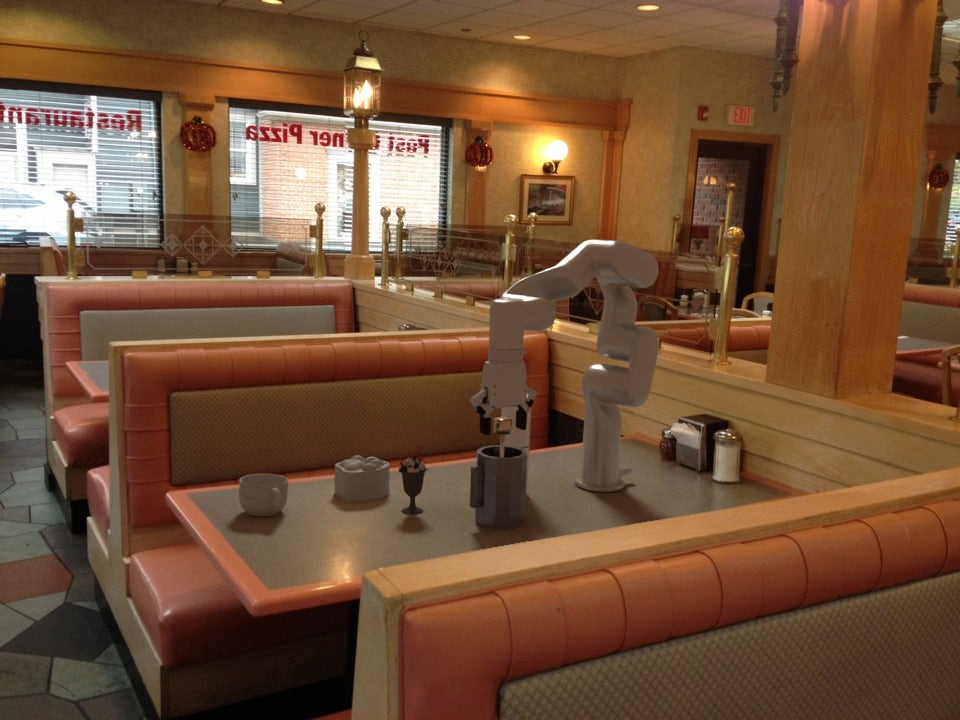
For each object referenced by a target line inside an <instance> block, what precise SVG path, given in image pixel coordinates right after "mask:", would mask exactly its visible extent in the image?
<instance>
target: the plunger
mask: <svg viewBox="0 0 960 720" xmlns="http://www.w3.org/2000/svg"><path fill="white" fill-rule="evenodd" d="M493 433H494V434H496V435H499V442H500V443H499V445H500V457H502V458H504V445H505V435H507V434H511V433H512V419H511V418H507V417H501V416H499V417H495V418H493Z"/></svg>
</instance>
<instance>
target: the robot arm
mask: <svg viewBox="0 0 960 720" xmlns="http://www.w3.org/2000/svg"><path fill="white" fill-rule="evenodd" d="M658 277H659V264H658V261H657V259H656V258H655V256H654V255H653V254H651V253H649V252H647V251H646V250H644V249H641V248H639V247H637V246H634V245H632V244H630V243H628V242H625V241H622V240H612V239H611V240H609V239H596V238H595V239H588V240H585V241H582V242H581V243H580V244H579V245H578V246H576V247H575V248H574V249H573V250H571V252H569V253H568V254H567V255H566V256H564V258H562V259H561V260H560V261H559V262H558V263H556V264H555V265H554V266H552V267H550V268H547V269H545V270H542V271H539V272H537V273H535V274H532V275H528V276H527V277H524V278H522V279H521V280H518V281H517V282H516V283H514V284H513V285H512V286H510V287H509V288H508V289H506V291H504V292H503V293H502V295H500V297H498V298H495V299H493V300H492V301H490V305H489V328H488V329H489V330H488V332H489V333H488V355H487V356H488V359H487V360H486V361H485V362H484V365H483V369H482V372H481V380H480V390H479V392H476V393H475V394H474V395H472V396H471V397H470V399H469V400H470V403H471V405H472V408H473V410H474V411H475V412H476V414H477V415H478V416H479V431H480V434H482V435H485V436H491V435H492V430H491V429H492V418H491V417H490V415H491V414H492V412H493V411H494V410H495V409H502V408H504V407H511V406H517V408H518V409H519V410H516V428H519V429H521V430H526V424H527V412H529V411H530V407H531V408H532V406H533V404H534V403H535V401H534V400H535V399H536V397H537V395H538V392H537V390H535V389H533V388H531V387H529V386H528V380H527V379H528V378H527V369H526V367H527V366H526V363H525V361H524V359H523V358H524V355H525V356H526V354H527V349H526V348H524V336H525V335H524V334H525V333H524V332H525V331H529V332H541V331H545V330H547V329H549V328H551V326H552V325H553V324H554V322H555V320H556V317H557V312H556V307H555V305H554V304H553V303H552V302H554V301H555V302H556V301H563V300H567V299H570V298H573V297H576V296H578V295H579V294H580V293H581V292H582V291H583V290H584V289H585V288H586V287H587V286H588V285H589V284H591V282H593V281H595V279H596V281H597V282H598V284H599V287H600V289H601V293H602V295H603V307H602V308H603V310H602V315H601V319H600V325H599V329H598V333H597V339H596V351H597V353H598V355H599V356H600V357H602V358H605V359H607V360H613V361H619V362H624V363H628V365H629V367H625V366H620V365H614V364H608V363H595V364H592V365H590V366H588V367H587V368H586V369H585V371H584V372H583V374H582V377H581V378H582V380H581V386H582V394H583V401H584V402H583V403H584V405H583V406H584V418H583V435H582V436H583V437H582V456H581V457H582V458H581V474H580V475H577V476H576V477H575V479H574V484H575V486H577V487H578V488H581V489H583V490H586V491H591V492H596V493H597V492H599V493H601V492H602V493H608V492H609V493H610V492H617V491H620V490H622V489H624V487H625V481H624V480H623V479H622V477H623V476H627V475H631V474H632V473H633V469H632V468H631V467H630V466H628V467H621V466H620V455H621V441H622V440H621V438H622V428H623V427H622V424H623V423H622V414H621V410H620V408H619V406H623V407H627V408H640V407H642V406H643V405H645V403H646V402H647V400H648V398H649V395H650V393H651V388H652V384H653V380H654V375H655V370H656V366H657V360H658V356H659V349H660V348H659V347H660V346H659V338H658V334H657V333H656V331H655V330H654V329H653V328H651V327H650V326H645V325H640V324H636V319H637V313H638V307H639V306H638V301H637V298H636V294H635V293H634V291H633V290H632V288H639V289H645V288H649V287H650V286H652V285H653V284H654V283H655V282H656V281H657V279H658ZM527 394H528V398H527ZM618 405H619V406H618Z"/></svg>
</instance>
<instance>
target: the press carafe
mask: <svg viewBox="0 0 960 720" xmlns="http://www.w3.org/2000/svg"><path fill="white" fill-rule="evenodd" d="M526 473H527V452H526V450H523V449H521V448H518V447H512V446H504V458H502V457H500V444H499V445H498V444H497V445H493V444H492V445H486V446H481V447H480V448H478V449H477V450H476V464H475V465H471V466H470V485H469V487H470V488H469V492H470V493H469V507H470V508H472V509H474V522H475V524H477V525H479V526H481V527H483V528H488V529H493V530H511V529H512V530H513V529H515V528H516V529H517V528H520V527H521V526H522V525H524V524H525V517H526V497H527V496H526Z"/></svg>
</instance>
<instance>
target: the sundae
mask: <svg viewBox="0 0 960 720" xmlns="http://www.w3.org/2000/svg"><path fill="white" fill-rule="evenodd" d="M422 449H423V447H422V446H421V447H419V448H418V450H417V451H416V453H413V454H411V455H410V456H409V457H407V458H406V460H405V461H404V463H403V462H402V461H400V462H399V463H400V466H399V467H398V473H400V474H401V476H402V477H401V478H402V486H403V492H404V493H405V494H406V495H407V496H408V497H409V506H406V507H403V508H402V509H401V512H402V513H403V514H405V515H409V514H416V515H420V514H422V513H423V512H424V509H422V508H421V507H417V504H416V498H417V497H418V495H420V494H421V493H422V489H423V485H424V479H425V473H426V472H427V471H428V468H427V467H426V464H425V462H424V461H422V460H423V457H422V456H421V450H422ZM417 454H418V455H419V456H417ZM419 513H420V514H419Z"/></svg>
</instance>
